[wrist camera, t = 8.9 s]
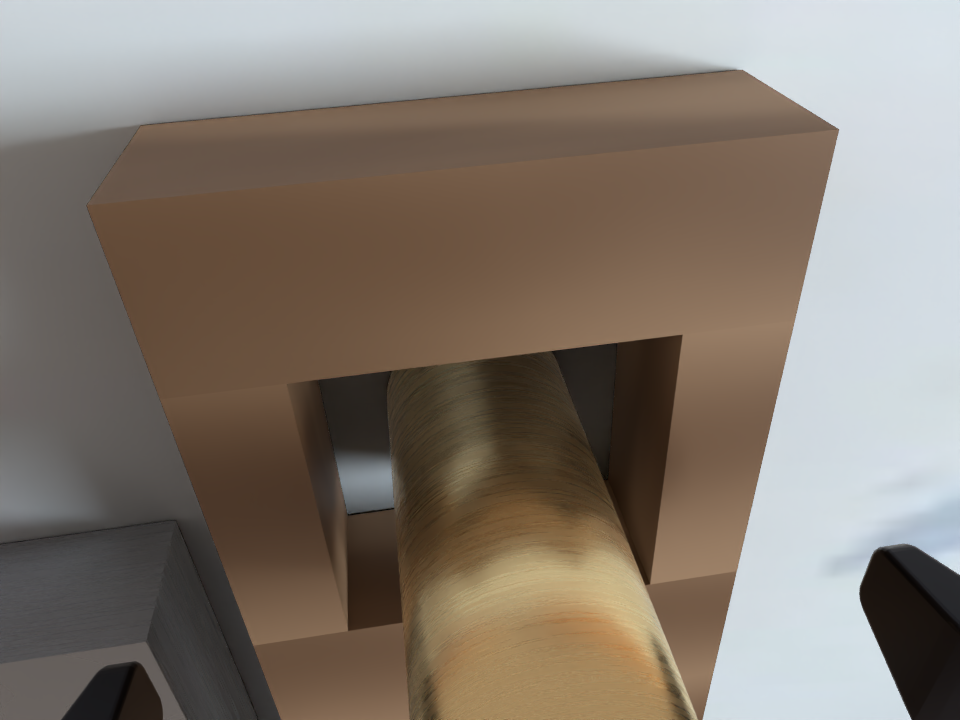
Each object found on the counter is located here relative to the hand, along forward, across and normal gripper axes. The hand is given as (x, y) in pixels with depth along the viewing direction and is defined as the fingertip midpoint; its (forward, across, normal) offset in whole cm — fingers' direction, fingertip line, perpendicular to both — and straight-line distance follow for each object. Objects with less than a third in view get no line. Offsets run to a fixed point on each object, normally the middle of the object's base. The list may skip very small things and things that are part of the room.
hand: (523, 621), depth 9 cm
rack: (+5, 0, +4) cm, 6 cm away
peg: (+5, 0, 0) cm, 5 cm away
